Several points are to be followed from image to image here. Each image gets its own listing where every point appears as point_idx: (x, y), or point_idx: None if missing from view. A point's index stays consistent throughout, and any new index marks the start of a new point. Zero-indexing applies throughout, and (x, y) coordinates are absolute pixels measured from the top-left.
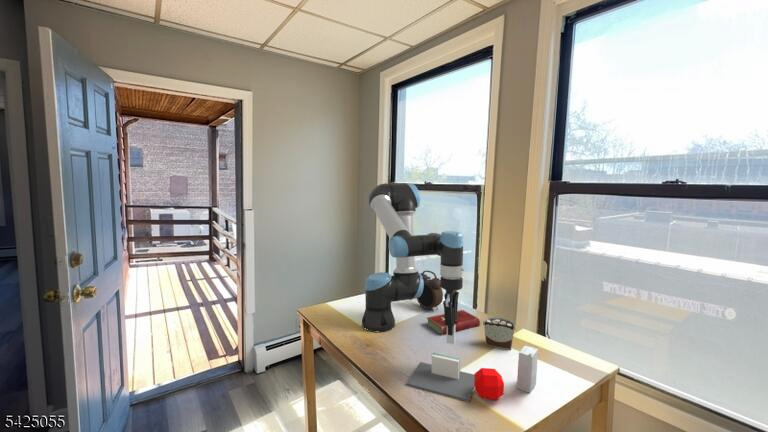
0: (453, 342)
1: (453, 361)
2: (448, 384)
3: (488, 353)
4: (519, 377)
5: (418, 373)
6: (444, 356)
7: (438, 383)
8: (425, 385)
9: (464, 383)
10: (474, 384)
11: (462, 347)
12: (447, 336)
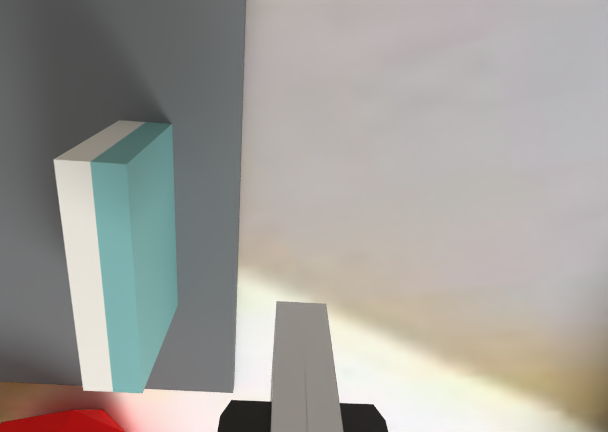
0: (271, 379)
1: (80, 350)
2: (43, 257)
3: (538, 414)
4: None
5: (57, 15)
6: (111, 276)
7: (14, 196)
8: None
9: None
10: (65, 413)
11: (601, 263)
12: (274, 359)
